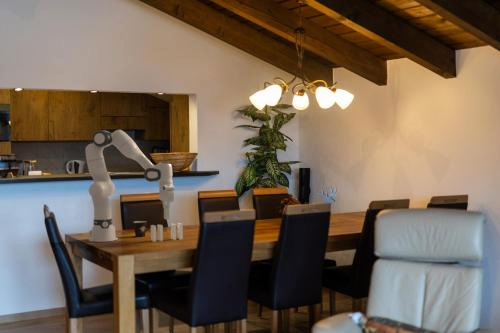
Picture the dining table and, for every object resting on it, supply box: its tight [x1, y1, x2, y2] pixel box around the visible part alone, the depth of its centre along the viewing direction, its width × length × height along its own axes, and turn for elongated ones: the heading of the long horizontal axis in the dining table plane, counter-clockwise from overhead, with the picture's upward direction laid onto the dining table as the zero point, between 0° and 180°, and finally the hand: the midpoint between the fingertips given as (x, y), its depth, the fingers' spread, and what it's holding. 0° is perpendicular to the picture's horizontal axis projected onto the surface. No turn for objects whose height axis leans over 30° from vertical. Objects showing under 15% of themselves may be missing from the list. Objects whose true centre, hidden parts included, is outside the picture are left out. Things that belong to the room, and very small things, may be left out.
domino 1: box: [150, 224, 157, 243], centre depth 436 cm, size 5×2×10 cm, turn 25°
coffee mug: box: [133, 220, 151, 238], centre depth 459 cm, size 12×9×10 cm
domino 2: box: [156, 224, 164, 242], centre depth 438 cm, size 5×2×10 cm, turn 25°
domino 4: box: [170, 223, 177, 241], centre depth 442 cm, size 5×2×10 cm, turn 25°
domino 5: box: [176, 222, 184, 240], centre depth 444 cm, size 5×2×10 cm, turn 25°
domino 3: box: [163, 202, 170, 220], centre depth 440 cm, size 5×2×10 cm, turn 25°
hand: (166, 208), depth 439 cm, fingers closed on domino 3, 5 cm apart
